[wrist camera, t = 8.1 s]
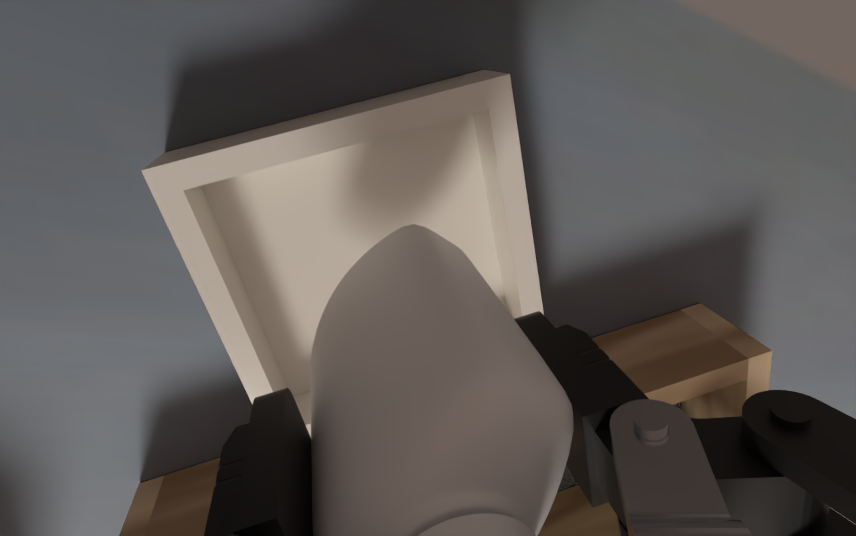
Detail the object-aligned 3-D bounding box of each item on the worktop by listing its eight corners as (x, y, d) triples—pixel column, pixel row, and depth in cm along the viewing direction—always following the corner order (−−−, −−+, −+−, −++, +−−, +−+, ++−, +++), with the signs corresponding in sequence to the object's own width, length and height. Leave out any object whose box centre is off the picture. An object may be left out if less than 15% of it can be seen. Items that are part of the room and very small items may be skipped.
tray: (164, 152, 16) (141, 170, 14) (483, 69, 17) (510, 73, 15) (279, 409, 21) (275, 453, 19) (525, 331, 22) (550, 364, 20)
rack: (139, 483, 21) (100, 584, 17) (700, 303, 23) (778, 354, 19) (230, 621, 25) (216, 727, 21) (698, 456, 27) (761, 524, 24)
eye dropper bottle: (495, 318, 16) (845, 834, 6) (339, 400, 16) (396, 1071, 6) (439, 201, 15) (808, 650, 4) (263, 294, 15) (132, 1008, 4)
